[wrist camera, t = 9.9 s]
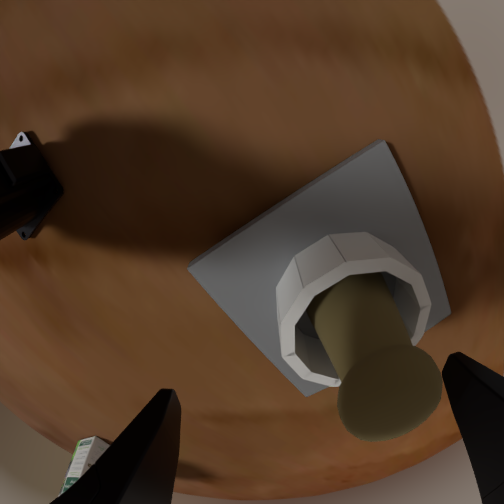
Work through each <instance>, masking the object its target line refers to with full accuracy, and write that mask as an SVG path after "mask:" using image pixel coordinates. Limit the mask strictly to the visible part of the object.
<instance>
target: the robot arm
mask: <svg viewBox="0 0 504 504" xmlns="http://www.w3.org/2000/svg"><path fill="white" fill-rule="evenodd" d="M22 137H23V140H22ZM56 189H57V190H58V194H57V193H56ZM62 194H63V187H62V186H61V184H60V183H59V181H58V180H57V178H56V177H55V175H54V174H53V172H52V171H51V170H50V167H49V165H48V164H47V162H46V161H45V159H44V158H43V156H42V155H41V153H40V152H39V150H38V148H37V147H36V145H35V144H34V143H33V141H32V140H31V138H30V137H29V135H28V133H27V132H21V133H19V134H18V136H17V137H16V139H15V140H14V142H13V144H12V145H11V147H10V148H9V149H6V150H2V151H0V240H1V239H3V238H5V237H6V236H8V235H9V234H11V233H13V232H14V231H17V232H18V234H19V235H20V237H21V238H22V239H23V240H27V239H28V238H30V236H31V235H32V234H33V232H34V231H35V229H36V228H37V227H38V225H39V224H40V223H41V221H42V220H43V219H44V217H45V216H46V215H47V213H48V212H49V211H50V210H51V208H52V207H53V206H54V205H55V203H56V202H57V201H58V200H59V199H60V197H61V196H62ZM25 234H26V235H25ZM442 378H443V381H444V384H445V388H446V391H447V394H448V398H449V401H450V405H451V408H452V411H453V414H454V417H455V419H456V422H457V425H458V427H459V430H460V433H461V435H462V438H463V441H464V443H465V446H466V449H467V452H468V455H469V458H470V461H471V464H472V468H473V471H474V474H475V478H476V481H477V484H478V488H479V492H480V496H481V499H482V504H504V377H503V376H501V375H499V374H498V373H496V372H494V371H493V370H491V369H489V368H487V367H486V366H484V365H482V364H480V363H479V362H477V361H475V360H474V359H472V358H470V357H468V356H467V355H465V354H463V353H461V352H456V353H453V354H450V355H449V357H448V359H447V361H446V363H445V366H444V368H443V370H442ZM180 425H181V405H180V402H179V400H178V397H177V395H176V392H175V390H174V389H160V390H159V391H158V392H157V393H156V395H155V396H154V397H153V398H152V399H151V400H150V401H149V403H148V404H147V405H146V406H145V407H144V408H143V409H142V410H141V412H140V413H139V414H138V415H137V416H136V417H135V418H134V419H133V421H132V422H131V423H130V424H129V425H128V426H127V427H126V428H125V429H124V431H123V432H122V433H121V434H120V435H119V436H118V437H117V438H116V439H115V441H114V442H113V443H112V444H111V445H110V446H109V447H108V448H107V449H106V451H105V452H104V453H103V454H102V455H101V456H100V457H99V458H98V459H97V460H96V461H95V464H93V465H92V466H91V467H90V468H89V469H88V470H87V471H86V472H85V473H84V474H83V475H82V476H81V477H80V478H79V479H78V480H77V481H76V482H75V483H74V484H73V485H72V486H70V487H69V488H68V489H67V490H66V491H65V492H63V493H62V494H61V495H60V496H58V497H57V498H56V499H55V500H53V501H52V502H51V503H50V504H171V500H172V494H173V488H174V481H175V475H176V469H177V463H178V457H179V447H180Z"/></svg>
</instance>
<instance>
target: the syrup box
mask: <svg viewBox="0 0 504 504" xmlns="http://www.w3.org/2000/svg"><path fill="white" fill-rule="evenodd" d="M109 446H110V445H109V444H107V443H106V442H104V441H103V440H101V439H100V438H98V437H97V436H93V437H91V438H86V439H82V440H79V441H78V443H77V446H76V448H75V451H74V454H73V456H72V459H71V462H70V465H69V467H68V470H67V473H66V476H65V478H64V481H63V484H62V487H61V490H60V493H59V496H60V495H61V494H62V493H63V492H65V491H66V490H67V489H68V488H69V487H70V486H72V485H73V484H74V483H75V482H76V481H77V480H78V479H79V478H80V477H81V476H82V475H83V474H84V473H85V472H86V471H87V470H88V469H89V468H90V467H91V466H92V465H93V464H95V461H96V460H97V459H98V458H99V457H100V456H101V455H102V454H103V453H104V452H105V451H106V449H107V448H108V447H109Z"/></svg>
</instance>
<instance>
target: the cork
mask: <svg viewBox="0 0 504 504" xmlns="http://www.w3.org/2000/svg"><path fill="white" fill-rule="evenodd" d="M306 312H307V315H308V317H309V319H310V321H311V323H312V325H313V327H314V328H315V330H316V332H317V334H318V336H319V338H320V340H321V342H322V344H323V346H324V348H325V350H326V352H327V354H328V356H329V358H330V360H331V362H332V364H333V366H334V368H335V370H336V372H337V374H338V376H339V378H340V380H341V384H340V386H339V392H338V402H337V407H338V411H339V415H340V418H341V420H342V423H343V424H344V426H345V428H346V429H347V431H349V432H350V433H351V434H353V435H354V436H355V437H357V438H359V439H360V440H364V441H370V442H372V441H386V440H389V439H393V438H397V437H399V436H401V435H404V434H406V433H408V432H410V431H411V430H413V429H415V428H416V427H418V426H419V425H420V424H422V423H423V422H424V421H425V420H426V419H427V418H428V417H429V416H430V415H431V414H432V413H433V411H434V410H435V409H436V407H437V405H438V404H439V402H440V400H441V393H442V383H443V381H442V377H441V373H440V371H439V369H438V367H437V365H436V364H435V362H434V360H433V359H432V357H431V356H430V355H428V354H427V353H426V352H425V351H423V350H422V349H420V348H418V347H416V346H413V345H412V342H411V340H410V337H409V335H408V332H407V330H406V327H405V325H404V322H403V320H402V318H401V315H400V313H399V311H398V308H397V306H396V304H395V301H394V299H393V297H392V295H391V293H390V290H389V288H388V286H387V284H386V282H385V280H384V277H383V275H382V274H381V272H373V273H363V274H354V275H348V276H347V277H345V278H343V279H342V280H340V281H338V282H337V283H335V284H334V285H332V286H330V287H329V288H327V289H325V290H324V291H322V292H320V293H319V294H317V295H315V296H314V297H313V299H312V300H311V302H310V303H309V305H308V306H307V308H306Z"/></svg>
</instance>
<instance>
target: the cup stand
mask: <svg viewBox="0 0 504 504" xmlns="http://www.w3.org/2000/svg"><path fill="white" fill-rule="evenodd" d="M187 269H188V270H189V272H190V273H191V274H192V275H193V276H194V278H195V279H196V280H197V281H198V282H199V283H200V284H201V286H202V287H203V288H204V289H205V290H206V291H207V292H208V294H209V295H210V296H211V297H212V298H213V299H214V300H215V302H216V303H217V304H218V305H219V306H220V307H221V308H222V309H223V311H224V312H225V313H226V314H227V315H228V316H229V317H230V318H231V319H232V320H233V322H234V323H235V324H236V325H237V326H238V327H239V328H240V329H241V330H242V331H243V332H244V334H245V335H246V336H247V337H248V338H249V339H250V340H251V341H252V342H253V343H254V344H255V345H256V346H257V347H258V348H259V350H260V351H261V352H262V353H263V354H264V355H265V356H266V357H267V358H268V359H269V360H270V361H271V362H272V363H273V364H274V365H275V366H276V367H277V368H278V369H279V370H280V371H281V372H282V373H283V374H284V375H285V376H286V377H287V378H288V379H289V381H290V382H291V383H292V384H293V385H294V386H295V387H296V388H297V389H298V390H299V391H300V392H302V393H303V394H304V395H305V396H306V397H308V396H310V395H312V394H314V393H316V392H319V391H321V390H323V389H325V388H327V387H329V386H331V387H337V386H340V384H341V380H340V378H339V376H338V374H337V372H336V370H335V368H334V366H333V364H332V362H331V360H330V358H329V356H328V354H327V352H326V350H325V348H324V346H323V344H322V342H321V340H320V338H319V336H318V334H317V332H316V330H315V328H314V327H313V325H312V323H311V321H310V319H309V317H308V315H307V312H306V308H307V306H308V305H309V303H310V302H311V300H312V299H313V297H314V296H315V295H317V294H319V293H320V292H322V291H324V290H325V289H327V288H329V287H330V286H332V285H334V284H335V283H337V282H338V281H340V280H342V279H343V278H345V277H347V276H348V275H354V274H363V273H373V272H381V274H382V275H383V277H384V280H385V282H386V284H387V286H388V288H389V290H390V293H391V295H392V297H393V299H394V301H395V304H396V306H397V308H398V311H399V313H400V315H401V318H402V320H403V322H404V325H405V327H406V330H407V332H408V335H409V337H410V340H411V342H412V345H413V346H415V345H416V344H417V343H418V342H419V340H420V339H421V338H422V337H423V334H424V332H425V331H427V330H428V329H430V328H431V327H433V326H434V325H436V324H437V323H438V322H440V321H441V320H443V319H444V318H445V317H447V316H448V315H450V314H451V310H450V306H449V302H448V298H447V294H446V291H445V287H444V284H443V280H442V277H441V274H440V271H439V267H438V264H437V261H436V258H435V255H434V252H433V249H432V247H431V244H430V241H429V238H428V235H427V233H426V230H425V227H424V225H423V222H422V220H421V217H420V215H419V212H418V210H417V207H416V205H415V203H414V200H413V198H412V196H411V193H410V191H409V189H408V187H407V185H406V182H405V180H404V178H403V176H402V174H401V172H400V170H399V168H398V165H397V163H396V161H395V159H394V157H393V155H392V153H391V152H390V150H389V148H388V146H387V144H386V142H385V140H380V139H378V140H376V141H375V142H373V143H372V144H370V145H368V146H367V147H365V148H363V149H362V150H360V151H359V152H357V153H355V154H354V155H352V156H351V157H349V158H347V159H346V160H344V161H343V162H341V163H339V164H338V165H336V166H335V167H333V168H332V169H330V170H328V171H327V172H325V173H324V174H322V175H321V176H319V177H317V178H316V179H314V180H313V181H311V182H310V183H308V184H307V185H305V186H303V187H302V188H300V189H299V190H297V191H296V192H294V193H293V194H291V195H290V196H288V197H286V198H285V199H283V200H282V201H280V202H279V203H277V204H276V205H274V206H273V207H271V208H270V209H268V210H267V211H265V212H264V213H262V214H261V215H259V216H258V217H256V218H255V219H253V220H252V221H250V222H249V223H247V224H246V225H244V226H243V227H241V228H240V229H238V230H237V231H235V232H234V233H232V234H231V235H229V236H228V237H226V238H225V239H223V240H222V241H220V242H219V243H217V244H216V245H214V246H213V247H211V248H210V249H208V250H207V251H206V252H204V253H203V254H201V255H200V256H198V257H197V258H195V259H194V260H192V261H191V262H190V263H189V265H188V268H187Z"/></svg>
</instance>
